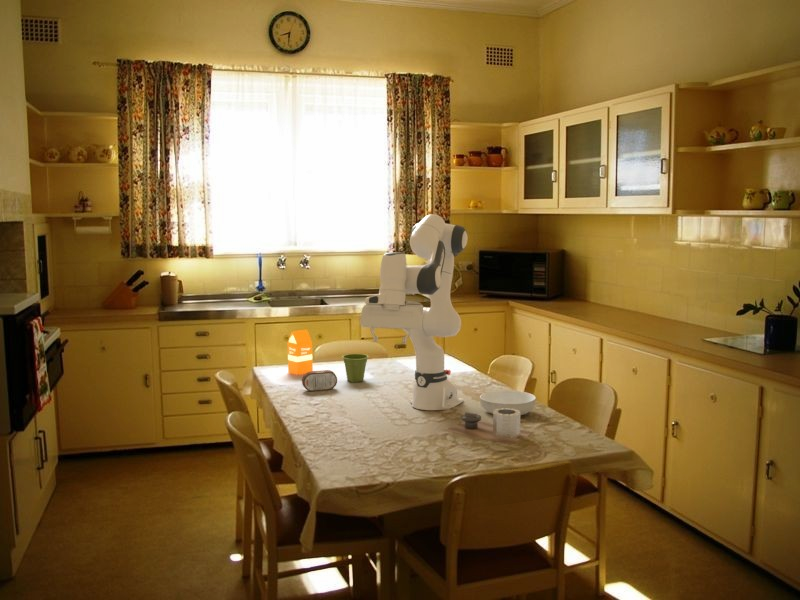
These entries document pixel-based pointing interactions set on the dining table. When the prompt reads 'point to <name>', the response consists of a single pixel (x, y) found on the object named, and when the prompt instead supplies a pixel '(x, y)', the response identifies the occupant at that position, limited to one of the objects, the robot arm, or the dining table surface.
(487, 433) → the walnut board
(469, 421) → the control knob
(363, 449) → the dining table surface
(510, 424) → the white cylinder
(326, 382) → the tin
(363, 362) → the plant pot
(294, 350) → the orange juice
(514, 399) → the serving bowl
